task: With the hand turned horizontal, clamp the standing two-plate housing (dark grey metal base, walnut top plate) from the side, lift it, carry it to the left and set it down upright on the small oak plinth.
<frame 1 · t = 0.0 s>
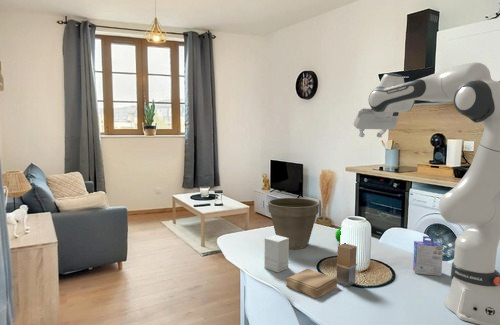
hand: (370, 136, 160), 54 cm above the table, tool tilted 30°, fingers open, 8 cm apart
supplement box: (276, 268, 143), on the table
housing: (345, 282, 130), on the table
ink cartridge box: (426, 273, 141), on the table
plant pot: (292, 245, 174), on the table
ornament: (343, 244, 176), on the table
oak plinth: (311, 286, 126), on the table
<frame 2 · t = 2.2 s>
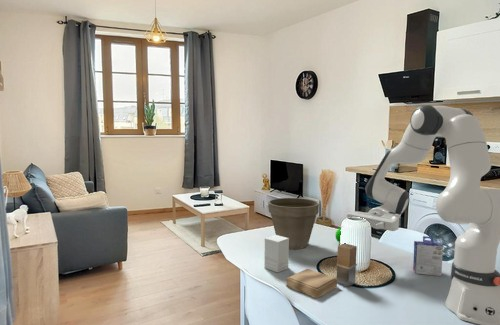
hand: (363, 224, 137), 20 cm above the table, tool horizontal, fingers open, 8 cm apart
nothing on the table moved.
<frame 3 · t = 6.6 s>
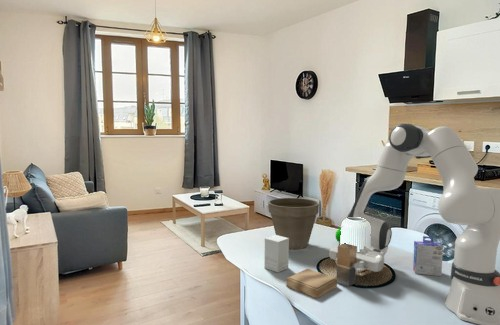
hand: (345, 263, 129), 8 cm above the table, tool horizontal, fingers closed on housing, 5 cm apart
housing: (345, 282, 130), on the table, touching gripper
everything else where it was.
when the fingers open (12 cm above the table, at t = 11.5 s): housing drops 2 cm, resting on oak plinth.
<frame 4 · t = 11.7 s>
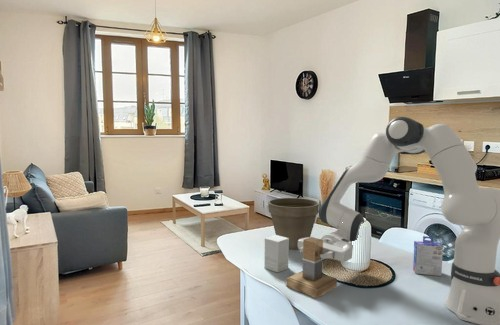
hand: (311, 253, 125), 12 cm above the table, tool horizontal, fingers open, 7 cm apart
housing: (312, 277, 126), point 3 cm above the table, touching oak plinth
everything else where it was.
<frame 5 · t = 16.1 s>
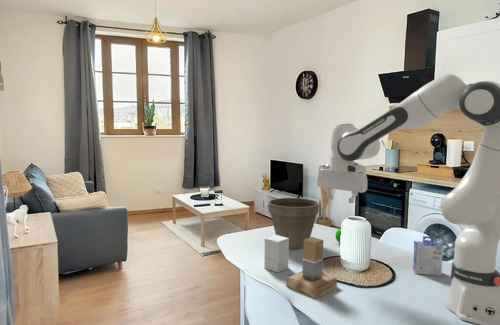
hand: (340, 201, 137), 29 cm above the table, tool pointing down, fingers open, 8 cm apart
nothing on the table moved.
at the end: housing 0.1 cm from the oak plinth (horizontally); housing point 3.3 cm above the table; housing tilted 0° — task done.
